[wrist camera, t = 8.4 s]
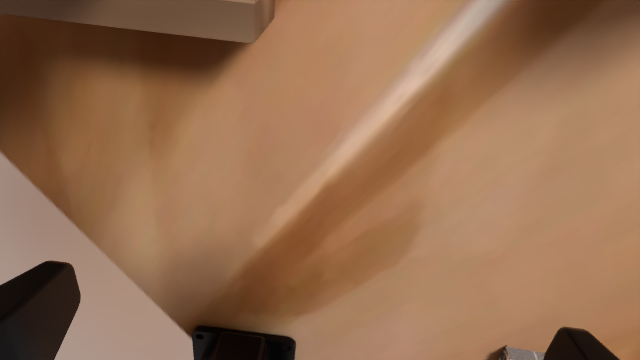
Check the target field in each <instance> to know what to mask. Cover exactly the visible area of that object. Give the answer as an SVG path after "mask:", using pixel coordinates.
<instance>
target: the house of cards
mask: <svg viewBox="0 0 640 360" xmlns="http://www.w3.org/2000/svg"><path fill="white" fill-rule="evenodd" d="M544 355H545V353H540V352H535V351H530V350H523V349H516V348H509V347H507V345H506V347H505V349H504V351H503V353H502V355H501V357H500V358H499V360H543V359H544Z"/></svg>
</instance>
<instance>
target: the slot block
mask: <svg viewBox="0 0 640 360" xmlns="http://www.w3.org/2000/svg"><path fill="white" fill-rule="evenodd" d="M274 5H275V0H0V14H7V15H15V16H24V17H32V18H41V19H49V20H58V21H66V22H75V23H83V24H92V25H100V26H109V27H117V28H126V29H134V30H143V31H151V32H159V33H168V34H176V35H185V36H193V37H202V38H210V39H219V40H227V41H236V42H244V43H253V44H254V43H255V42H256V40H257V39H258V38H259V36H260V35H261V34H262V33H263V31H264V30H265V29H266V28H267V26H268V25H269V24H270V22H271V21H272V20H273V19H274Z"/></svg>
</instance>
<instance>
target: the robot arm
mask: <svg viewBox="0 0 640 360" xmlns="http://www.w3.org/2000/svg"><path fill="white" fill-rule="evenodd" d="M79 303H80V291H79V287H78V283H77V279H76V275H75V271H74V268H73V266H72V265H71V264H69V263H66V262H58V261H46V262H43V263H41V264H39V265H38V266H36V267H34V268H32V269H30V270H29V271H26V272H24V273H23V274H21V275H19V276H17V277H15V278H13V279H11V280H9V281H8V282H6V283H4V284H2V285H0V360H54V359H55V356H56V354H57V352H58V350H59V348H60V346H61V344H62V341H63V339H64V337H65V335H66V333H67V330H68V328H69V326H70V324H71V322H72V320H73V317H74V315H75V313H76V311H77V309H78V306H79ZM192 341H193V353H194V360H294V359H295V349H296V342H295V340H293V339H292V338H287V337H280V336H272V335H264V334H257V333H249V332H241V331H233V330H226V329H218V328H210V327H203V326H198V327H196V328H195V329H194V331H193V334H192ZM543 360H620V359H619V358H617V357H616V356H615V355H614V354H613V353H612V352H611V351H610V350H609V349H607V348H606V347H605V346H604V345H603V344H602V343H601V342H600V341H598V340H597V339H596V338H595V337H594V336H593V335H592V334H591V333H589V332H588V331H586V330H584V329H579V328H571V327H562V328H560V329H559V330H558V331H557V333H556V335H555V336H554V338H553V340H552V342H551V344H550V345H549V347H548V349H547V351H546V353H545V355H544V359H543Z"/></svg>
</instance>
